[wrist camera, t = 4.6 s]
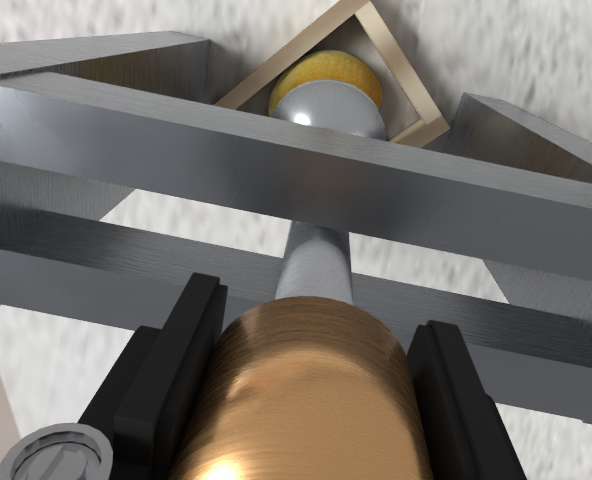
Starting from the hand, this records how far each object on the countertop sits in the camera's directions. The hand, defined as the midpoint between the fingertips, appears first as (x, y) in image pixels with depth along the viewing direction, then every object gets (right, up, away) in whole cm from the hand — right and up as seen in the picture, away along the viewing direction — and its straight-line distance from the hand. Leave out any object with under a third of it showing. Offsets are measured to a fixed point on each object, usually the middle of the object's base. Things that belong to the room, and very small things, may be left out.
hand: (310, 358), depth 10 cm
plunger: (+1, +9, +18) cm, 20 cm away
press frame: (+2, +12, +26) cm, 29 cm away
